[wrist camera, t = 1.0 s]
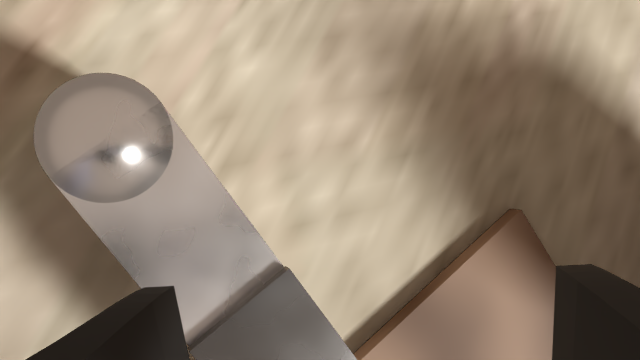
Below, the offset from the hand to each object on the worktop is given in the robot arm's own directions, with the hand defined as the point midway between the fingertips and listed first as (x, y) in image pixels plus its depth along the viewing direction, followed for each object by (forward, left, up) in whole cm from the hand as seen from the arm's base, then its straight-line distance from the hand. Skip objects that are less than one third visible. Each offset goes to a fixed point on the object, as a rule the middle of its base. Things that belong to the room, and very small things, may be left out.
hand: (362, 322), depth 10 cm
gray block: (-2, 0, -12) cm, 13 cm away
